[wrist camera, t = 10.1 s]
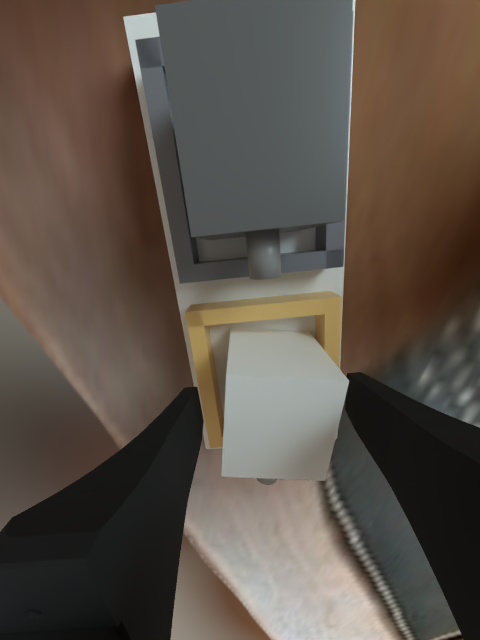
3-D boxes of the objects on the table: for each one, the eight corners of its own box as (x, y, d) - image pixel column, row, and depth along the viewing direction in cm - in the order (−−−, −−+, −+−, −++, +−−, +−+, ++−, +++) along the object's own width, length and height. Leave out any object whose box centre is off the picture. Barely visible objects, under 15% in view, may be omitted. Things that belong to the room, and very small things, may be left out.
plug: (309, 331, 13) (349, 381, 8) (294, 424, 15) (319, 506, 10) (230, 327, 13) (226, 374, 8) (226, 421, 15) (220, 502, 10)
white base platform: (334, 31, 11) (378, -66, 7) (326, 417, 17) (346, 458, 14) (143, 56, 11) (101, -27, 8) (209, 427, 18) (202, 469, 14)
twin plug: (298, 106, 10) (353, -22, 5) (300, 263, 12) (341, 275, 7) (194, 119, 10) (154, 5, 5) (215, 272, 12) (199, 290, 7)
